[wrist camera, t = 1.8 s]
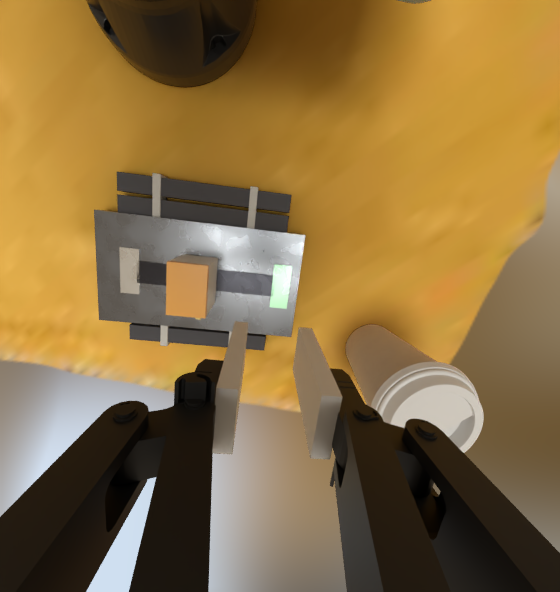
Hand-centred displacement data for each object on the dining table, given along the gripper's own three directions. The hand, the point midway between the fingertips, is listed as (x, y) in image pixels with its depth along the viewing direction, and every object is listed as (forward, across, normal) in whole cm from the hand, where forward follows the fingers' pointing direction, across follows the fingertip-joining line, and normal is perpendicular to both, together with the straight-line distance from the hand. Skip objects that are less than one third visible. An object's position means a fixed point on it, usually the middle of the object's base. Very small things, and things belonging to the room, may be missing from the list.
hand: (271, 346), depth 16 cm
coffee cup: (+19, +14, -8) cm, 25 cm away
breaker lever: (+16, -8, 0) cm, 18 cm away
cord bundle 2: (+19, -8, -8) cm, 21 cm away
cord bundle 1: (+19, -8, +8) cm, 22 cm away
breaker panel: (+19, -8, 0) cm, 20 cm away
